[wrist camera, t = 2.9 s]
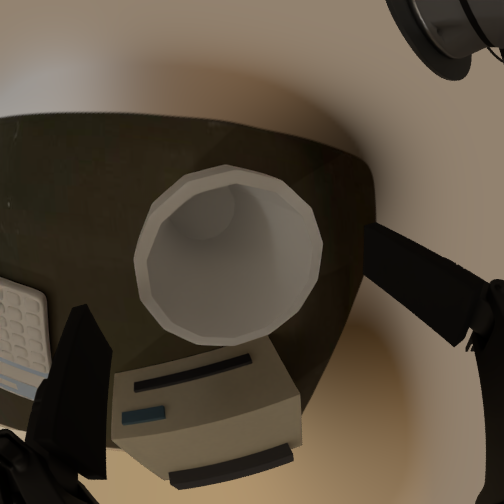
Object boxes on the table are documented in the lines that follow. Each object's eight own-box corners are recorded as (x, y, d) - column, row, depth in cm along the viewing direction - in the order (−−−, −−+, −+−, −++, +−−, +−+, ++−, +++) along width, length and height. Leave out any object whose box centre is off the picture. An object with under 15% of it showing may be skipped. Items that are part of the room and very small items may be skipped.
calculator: (48, 290, 23) (43, 300, 21) (59, 401, 28) (57, 410, 26) (-37, 260, 17) (-44, 267, 16) (-11, 375, 23) (-15, 383, 21)
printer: (266, 331, 33) (308, 406, 22) (277, 395, 39) (307, 455, 28) (113, 371, 29) (109, 453, 18) (156, 427, 35) (165, 492, 24)
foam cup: (129, 218, 23) (100, 295, 12) (192, 133, 22) (218, 126, 10) (211, 271, 27) (247, 365, 16) (270, 197, 26) (351, 248, 15)
